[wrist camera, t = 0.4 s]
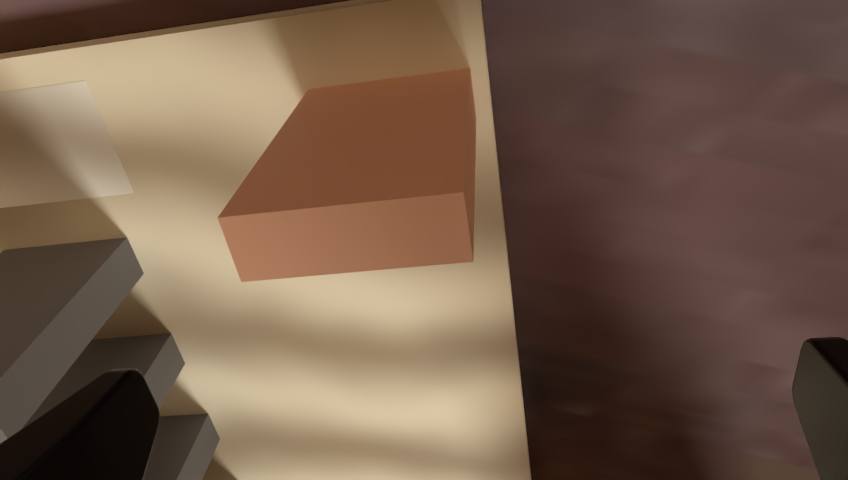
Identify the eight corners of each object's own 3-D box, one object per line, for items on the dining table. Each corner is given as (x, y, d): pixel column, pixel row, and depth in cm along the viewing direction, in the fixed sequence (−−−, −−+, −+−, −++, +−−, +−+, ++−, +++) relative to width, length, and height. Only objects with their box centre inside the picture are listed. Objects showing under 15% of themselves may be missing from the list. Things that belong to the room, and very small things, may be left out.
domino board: (534, 505, 31) (535, 524, 30) (116, 518, 34) (107, 535, 33) (478, -20, 19) (478, -13, 18) (-165, 78, 22) (-191, 88, 21)
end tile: (476, 118, 20) (473, 261, 13) (321, 137, 21) (240, 282, 14) (470, 67, 19) (463, 192, 12) (308, 89, 20) (217, 217, 13)
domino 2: (185, 363, 26) (82, 544, 20) (74, 371, 27) (-62, 547, 20) (171, 333, 25) (58, 510, 19) (58, 341, 26) (-91, 516, 19)
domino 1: (143, 273, 24) (10, 442, 17) (24, 284, 25) (-149, 451, 18) (127, 237, 23) (-20, 399, 16) (4, 249, 24) (-186, 410, 17)
